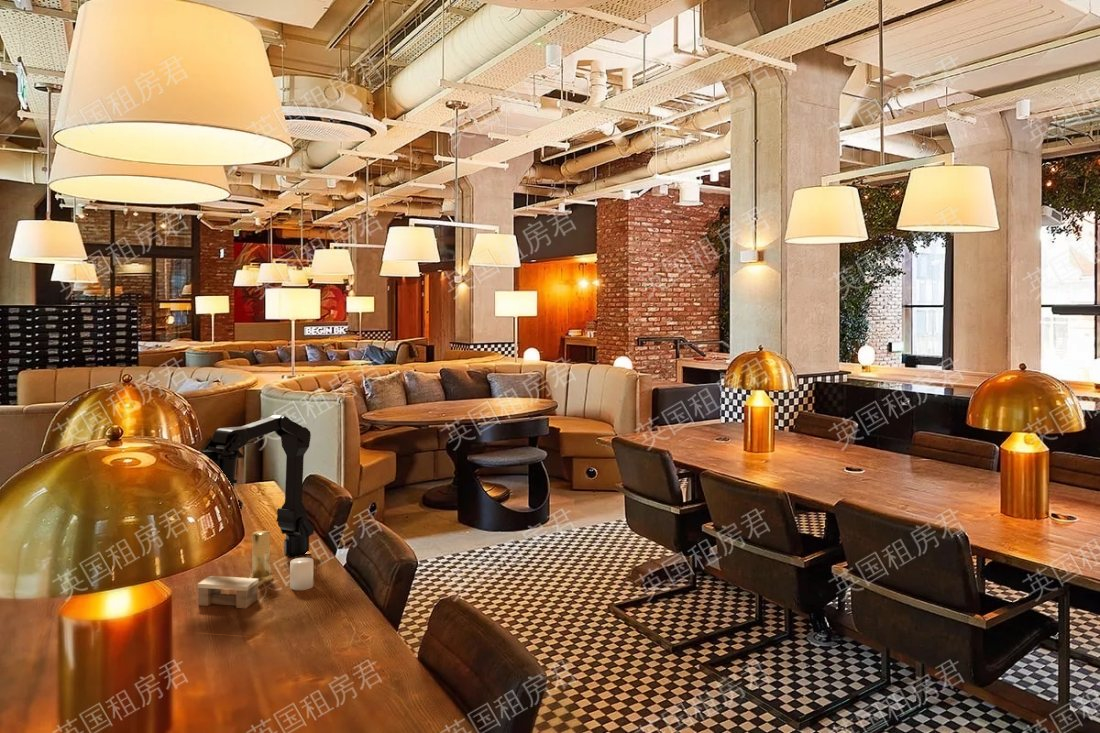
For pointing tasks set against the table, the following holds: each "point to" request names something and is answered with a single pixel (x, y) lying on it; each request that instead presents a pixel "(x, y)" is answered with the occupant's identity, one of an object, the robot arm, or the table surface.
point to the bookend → (261, 557)
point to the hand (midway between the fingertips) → (218, 532)
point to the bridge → (214, 584)
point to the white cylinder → (301, 573)
